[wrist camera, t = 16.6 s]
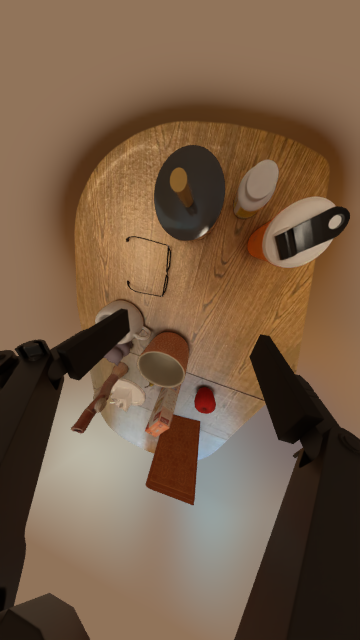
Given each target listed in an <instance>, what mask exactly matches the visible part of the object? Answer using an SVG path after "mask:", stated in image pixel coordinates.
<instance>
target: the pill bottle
mask: <svg viewBox="0 0 360 640" xmlns="http://www.w3.org/2000/svg"><path fill="white" fill-rule="evenodd" d="M278 175H279V170H278V166H277V164H276V163H275V162H274V161H272V160H264V161H261V162H260V163H258V164H257V165H256V166H254V167H253V168H251V169H250V170H249V171H248V172H247V173H246V174H245V176H244V177H243V179H242V181H241V183H240V185H239V188H238V190H237V193H236V196H235V198H234V202H233V210H234V213H235V215H236V216H237V217H238V218H240V219H248V218H250V217H252V216H253V215H255V214H256V213H257V212H258V211H259V210H260V209H261V208H262V207H263V206H264V205H265V204H266V203H267V202H268V201H269V200H270V198H271V197H272V195H273V193H274V191H275V187H276V183H277V180H278Z"/></svg>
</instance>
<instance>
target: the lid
mask: <svg viewBox="0 0 360 640" xmlns="http://www.w3.org/2000/svg"><path fill="white" fill-rule="evenodd" d="M224 197H225V180H224V174H223V171H222V168H221V166H220V163H219V162H218V160H217V158H216V157H215V156H214V155H213V154H212V153H211V152H210V151H209V150H208V149H206V148H204V147H201V146H198V145H188V146H184V147H182V148H180V149H178V150H176V151H175V152H174V153H172V154H171V155H170V156H169V157H168V159H167V160H166V161H165V162H164V164H163V166H162V167H161V170H160V172H159V174H158V177H157V180H156V184H155V191H154V204H155V210H156V214H157V217H158V220H159V222H160V224H161V225H162V227H163V228H164V230H165V231H166V232H167V233H168V234H169V235H171V236H172V237H174V238H176V239H178V240H182V241H191V240H195V239H198V238H200V237H202V236H203V235H205V234H206V233H207V232H208V231H209V230H210V229H211V228H212V227H213V225H214V224H215V223H216V221H217V219H218V217H219V215H220V213H221V210H222V207H223V203H224Z"/></svg>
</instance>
